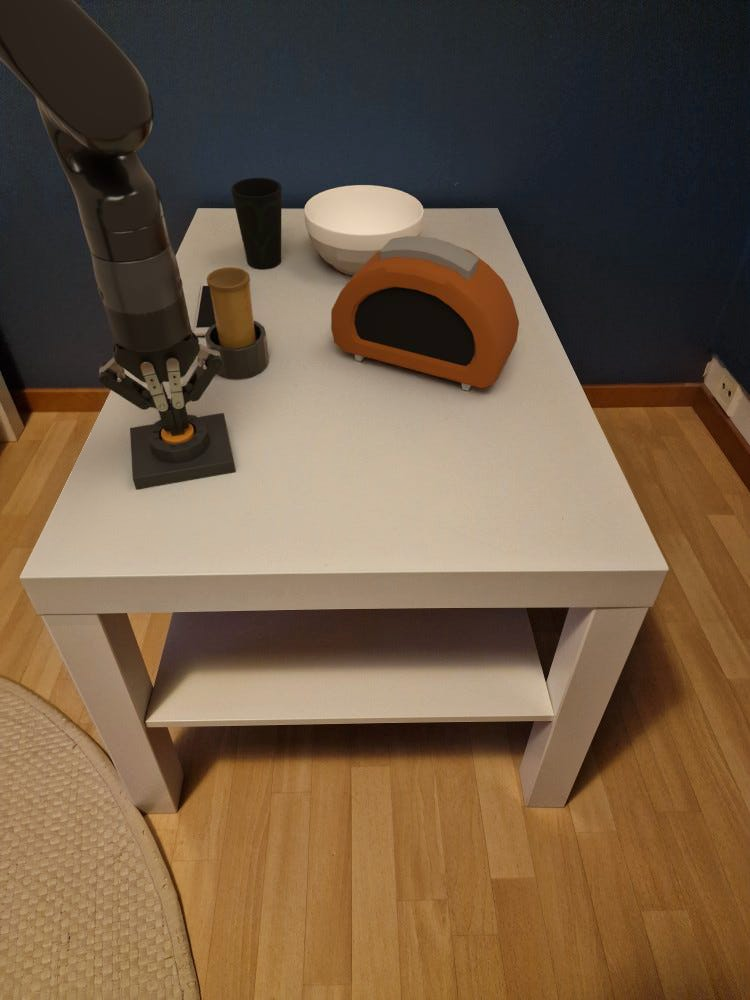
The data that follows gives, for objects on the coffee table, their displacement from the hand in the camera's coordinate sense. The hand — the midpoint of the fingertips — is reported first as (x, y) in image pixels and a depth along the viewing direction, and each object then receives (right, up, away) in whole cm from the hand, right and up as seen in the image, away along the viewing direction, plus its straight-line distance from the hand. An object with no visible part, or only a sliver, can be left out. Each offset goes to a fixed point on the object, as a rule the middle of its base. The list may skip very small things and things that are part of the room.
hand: (177, 430), depth 78 cm
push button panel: (0, -3, +3) cm, 4 cm away
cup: (+4, +31, +36) cm, 48 cm away
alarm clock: (+29, +11, +17) cm, 35 cm away
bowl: (+21, +32, +37) cm, 53 cm away
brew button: (0, -1, +1) cm, 2 cm away
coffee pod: (+4, +11, +15) cm, 19 cm away
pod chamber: (+4, +11, +16) cm, 20 cm away
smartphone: (0, +21, +25) cm, 32 cm away
